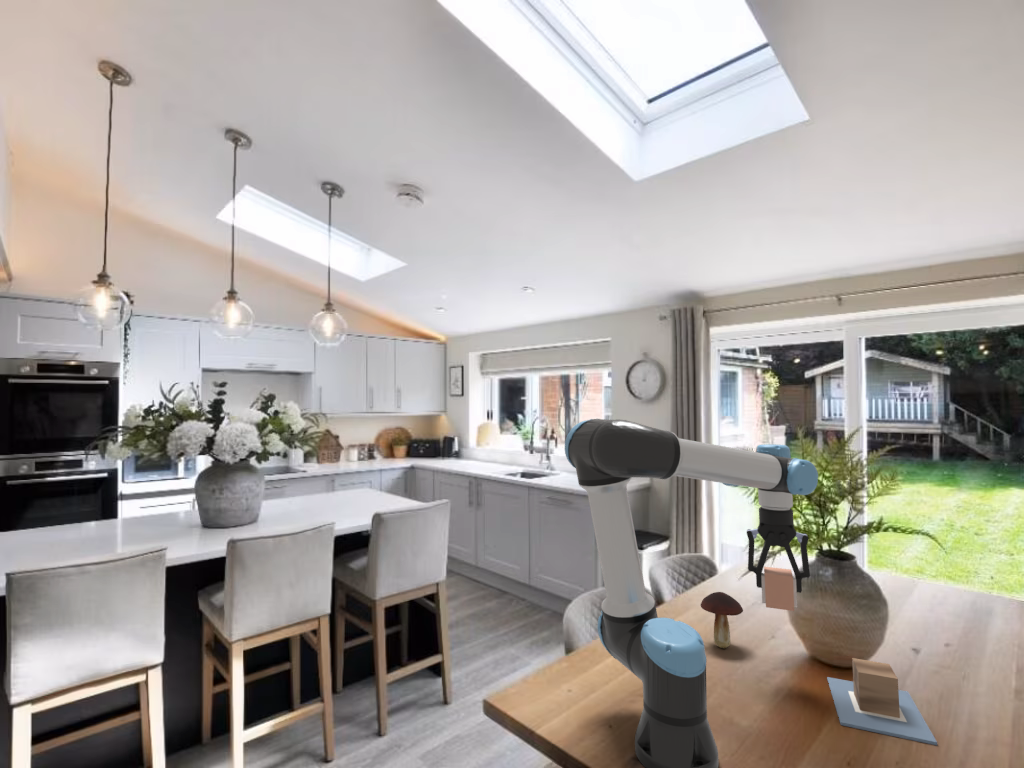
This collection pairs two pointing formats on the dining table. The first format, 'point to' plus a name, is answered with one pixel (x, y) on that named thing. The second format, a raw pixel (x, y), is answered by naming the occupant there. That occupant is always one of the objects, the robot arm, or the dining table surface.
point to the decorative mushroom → (721, 615)
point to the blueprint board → (880, 715)
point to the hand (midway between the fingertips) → (779, 603)
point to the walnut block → (876, 687)
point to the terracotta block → (779, 588)
